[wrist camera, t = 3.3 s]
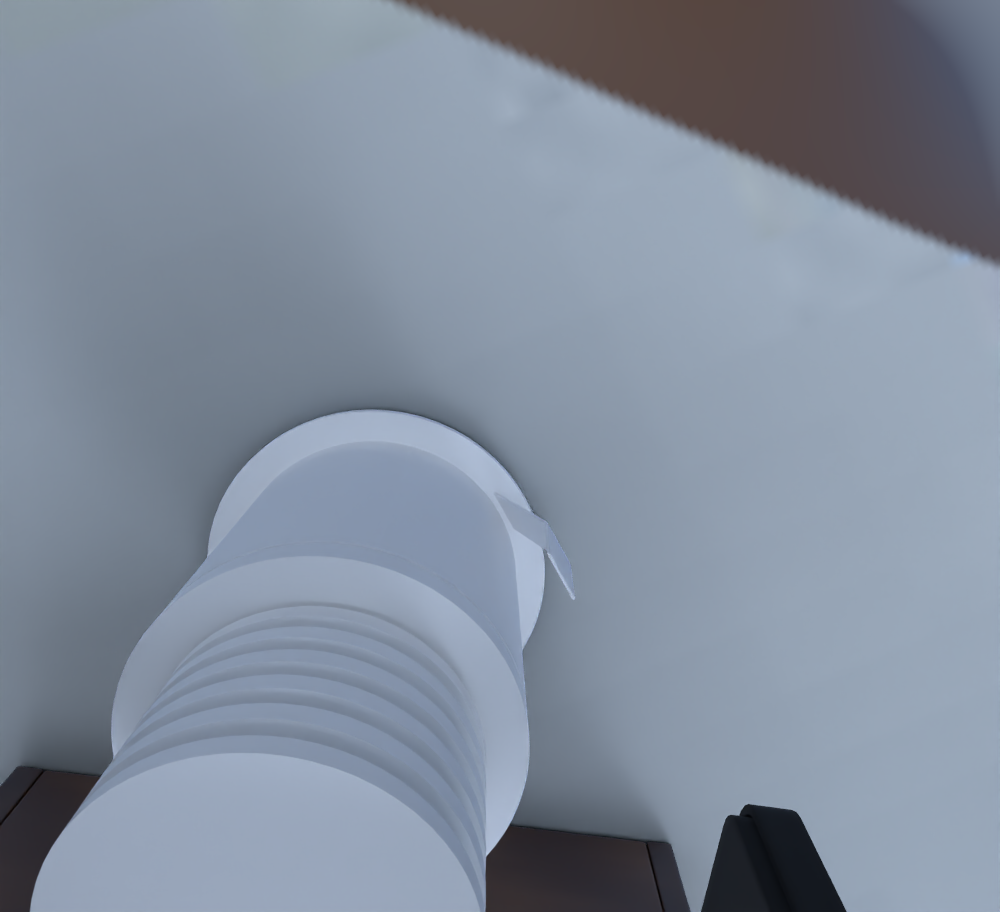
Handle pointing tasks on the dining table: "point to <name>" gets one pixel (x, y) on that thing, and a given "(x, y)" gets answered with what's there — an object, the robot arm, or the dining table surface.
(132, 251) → the dining table surface
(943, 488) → the dining table surface
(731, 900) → the robot arm
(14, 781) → the spice shelf
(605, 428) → the dining table surface
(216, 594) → the downlight
